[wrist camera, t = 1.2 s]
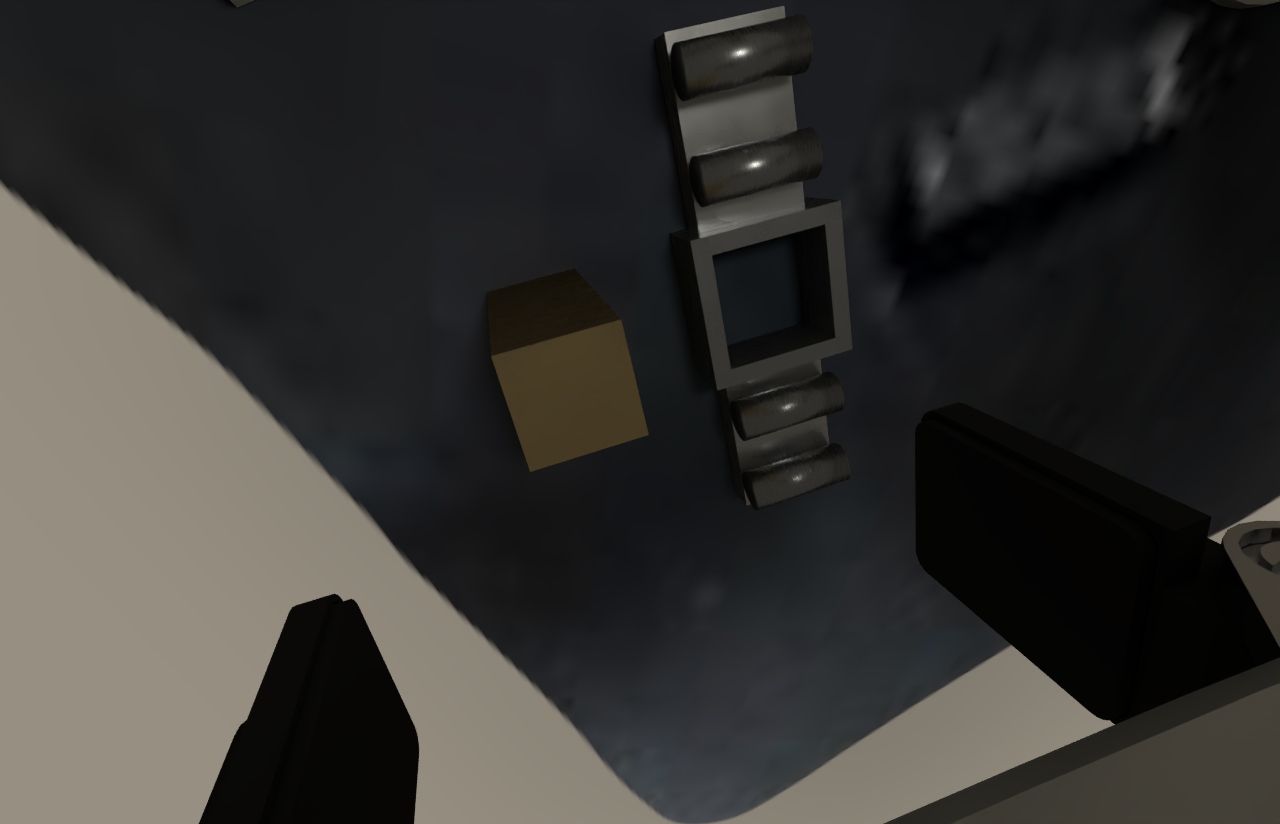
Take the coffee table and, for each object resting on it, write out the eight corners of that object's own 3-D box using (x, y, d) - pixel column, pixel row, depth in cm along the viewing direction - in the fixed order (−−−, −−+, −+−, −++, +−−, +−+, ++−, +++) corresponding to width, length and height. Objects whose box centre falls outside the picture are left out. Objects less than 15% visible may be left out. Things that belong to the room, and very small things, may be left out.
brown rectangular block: (574, 268, 28) (621, 319, 19) (596, 351, 29) (648, 435, 20) (486, 292, 27) (491, 356, 18) (513, 375, 29) (530, 472, 20)
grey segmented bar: (787, 9, 26) (831, -12, 23) (833, 459, 35) (868, 489, 32) (633, 44, 25) (655, 26, 22) (720, 497, 34) (745, 531, 31)
